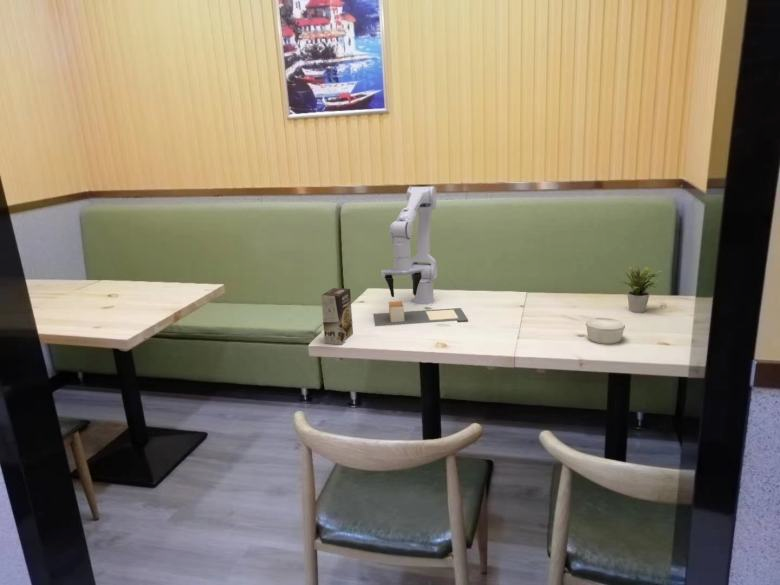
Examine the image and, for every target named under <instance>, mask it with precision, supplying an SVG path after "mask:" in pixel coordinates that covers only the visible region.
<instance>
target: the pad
mask: <svg viewBox="0 0 780 585" xmlns="http://www.w3.org/2000/svg"><path fill="white" fill-rule="evenodd" d="M426 313H427V315H428V318H429V320H430V321H431V320H445V319H458V316H457V315H456V313H455V311H454V310H440V311H426Z"/></svg>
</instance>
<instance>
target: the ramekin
mask: <svg viewBox="0 0 780 585" xmlns="http://www.w3.org/2000/svg"><path fill="white" fill-rule="evenodd" d="M585 326H586V334H587V338H588V339H589V341H592V342H594V343H596V344H601V345H602V344H603V345H612V344H613V345H614V344H617V343H619V342H620V341H621V340H622V338H623V335H624V330H625V328H626V324H625V322H624V321H621V320H620V319H616V318H611V317H593V318H590V319H587V320H586V321H585Z"/></svg>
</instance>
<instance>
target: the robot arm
mask: <svg viewBox="0 0 780 585" xmlns="http://www.w3.org/2000/svg"><path fill="white" fill-rule="evenodd" d="M406 200H407V204H406V207H403V208H402V209H401V211H400V213H399V214H398V216H397V218H396V220H394V221H393V222H391V223H390V227H389V235H390V239H391V244H392V246H393V247H392V248H393V268H390V269H381V270H380V272H381V273H380V275H381V277H382V278H384V280H385V281H386V283H387V285H388V288H389V292H390V296H391V298H394V297H395V292H394V291H395V290H394V289H395V288H394V278H393V277H395V276H407V275H408V276H409V278H410V279H411V281H412V294H413V296H414V298H412V302H413V304H414V306H428V305H436V304H437V303H436V301H435V298H434V281H435V280H436V279H437V277H438V265H437V264H438V262H437V260H436V259H435V258H434V257H433V256H432V255H431V254H430V252H431V227H432V226H431V225H432V212H433V211H434V210H436V208H437V207H436V206H437V190H436V187H435V186H433V185H432V186H411V185H410V186H409V187H408V188H407V190H406ZM417 213H418V214H417ZM417 216H418V218H417ZM416 219H417V242H416V246H417V247H416V255H414V256H413V257H412V258H411V256H412V255H411V238H412V235H413V229H414V223H415V221H416Z"/></svg>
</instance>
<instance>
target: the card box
mask: <svg viewBox="0 0 780 585" xmlns="http://www.w3.org/2000/svg"><path fill="white" fill-rule="evenodd" d="M388 309H389V310H388V313H389V315H390V320H391V322H402V321H404V312H405V307H404V304H403V301H402V300H399V301H397V300H395V301H388Z"/></svg>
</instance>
